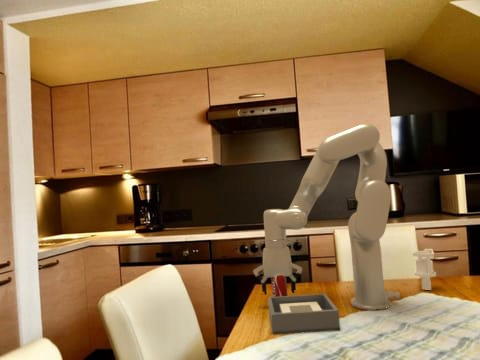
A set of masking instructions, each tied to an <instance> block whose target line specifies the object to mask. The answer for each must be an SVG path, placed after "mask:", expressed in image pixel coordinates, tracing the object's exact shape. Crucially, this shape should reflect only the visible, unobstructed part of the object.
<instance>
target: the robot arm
mask: <svg viewBox="0 0 480 360" xmlns="http://www.w3.org/2000/svg"><path fill="white" fill-rule="evenodd" d="M380 139H381V134H380V131H379V129H378V128H377V127H376V126H375V125H373V124H371V123H370V124H369V123H363V124H360V125H356V126H354V127H352V128H349V129H346V130H344V131H341V132H338V133H337V134H334V135H331V136H328V137H326V138H325V139H323V140H322V141H321V142H320V144H319V146H318V148H317V150H316V151H315V153H314V155H313V157H312V159H311V161H310V163H309V165H308V167H307V169H306V170H305V173H304V175H303V177H302V179H301V182H300V184H299V187H298V190H297V191H296V194H295V196H294V198H293V199H292V202H291V203H290V205H289V207H288V209H281V208H272V209H271V208H270V209H266V210H264V212H263V227H264V228H263V230H264V243H265V247H264V248H263V249H262V265H259V266H257V267H256V268H255V269H253V271H252V272H253V274H254V276H255V277H256V279H257V280H258V281H259V282H260V283H261V287H262V288H261V292H262V293H263V294H264V296H266V295H267V279H268V278H272V277H275V276H276V275H277V274H280V273H281V275H282V276H284V277H286V278H287V277H289V278H290V291H291V293H292V294H295V291H296V290H297V289H296V288H297V287H296V285H297V284H296V282H297V280H298V278H300V276H301V273H302V272H303V267H302V266H300V265H298V264H294V263H292V257H291V256H292V255H291V251H290V247H289V246H288V245H291V242H292V241H291V239H287V232H286V231H287V230H295V231H296V230H297V231H298V230H301V229H303V228H305V226H306V225H307V222H308V217H309V214H310V212H311V210H312V209H313V207H314V205H315V203H316V201H317V199H318V198H319V197H320V196H321V195H322V194H323V192H324V191H325V189H326V188H327V185H328V184H329V182H330V180H331V178H332V175H333V174H334V173H335V170H336V168H337V166H338V164H339V163H340V161H341V160H346V159H347V158H350V157H353V156H355V155H357V156H358V157H359V164H360V165H359V172H358V178H357V182H356V183H357V184H356V187H355V193H354V195H355V199H356V201H357V205H356V211H355V212H354V213H352V214H351V216H350V218H349V219H348V224H347V225H348V226H347V229H348V235H349V240H350V241H349V243H350V250H351V251H350V253H351V262H352V274H353V287H354V297H352V298H351V299H350V305H351V306H353V307H355V308H357V309H361V310H365V311H366V310H367V311H377V310H376V309H381V310H384V309H383V308H385V309H387V308H386V307H388V306H389V307H391V305H390V304H391V299H400V298H401V294H400V292H399V291H395V292H394V291H393V290H389V291H388V290H386V289H385V283H384V274H383V273H384V271H383V270H384V269H383V261H382V249H381V248H382V247H381V241H380V239H381V238H383V236H384V234H385V231H386V228H387V225H388V218H389V213H390V206H391V202H392V201H391V199H392V194H391V189H390V186H389V185H388V184H387V182H386V175H387V166H388V162H387V161H388V158H387V154H386V151H385V149H384V147H383V146H382V145H381V143H380ZM293 269H295V270H297V271H296V272H295V274H294V275H293ZM261 271H262V272H263V273H262V274H263V276H261V275H260V274H259V272H261ZM389 307H388V308H389Z"/></svg>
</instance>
